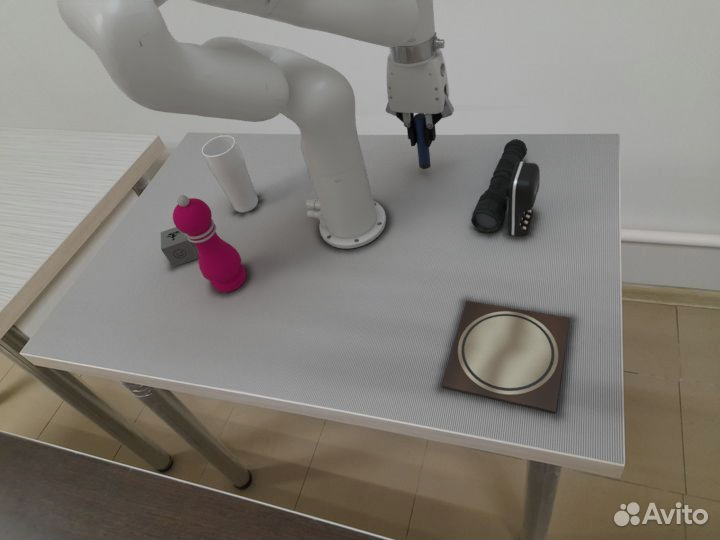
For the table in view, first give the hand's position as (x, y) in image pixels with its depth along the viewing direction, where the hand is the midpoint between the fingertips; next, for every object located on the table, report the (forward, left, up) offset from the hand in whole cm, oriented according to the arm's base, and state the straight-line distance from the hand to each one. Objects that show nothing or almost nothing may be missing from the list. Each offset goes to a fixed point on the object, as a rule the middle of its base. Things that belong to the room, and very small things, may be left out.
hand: (422, 141), depth 98 cm
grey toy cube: (-41, -29, -8) cm, 51 cm away
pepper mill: (-28, -33, -8) cm, 44 cm away
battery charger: (+20, -11, -8) cm, 25 cm away
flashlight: (+15, -4, -8) cm, 18 cm away
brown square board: (+22, -37, -7) cm, 44 cm away
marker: (0, 0, -6) cm, 6 cm away
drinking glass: (-35, -14, -8) cm, 38 cm away
